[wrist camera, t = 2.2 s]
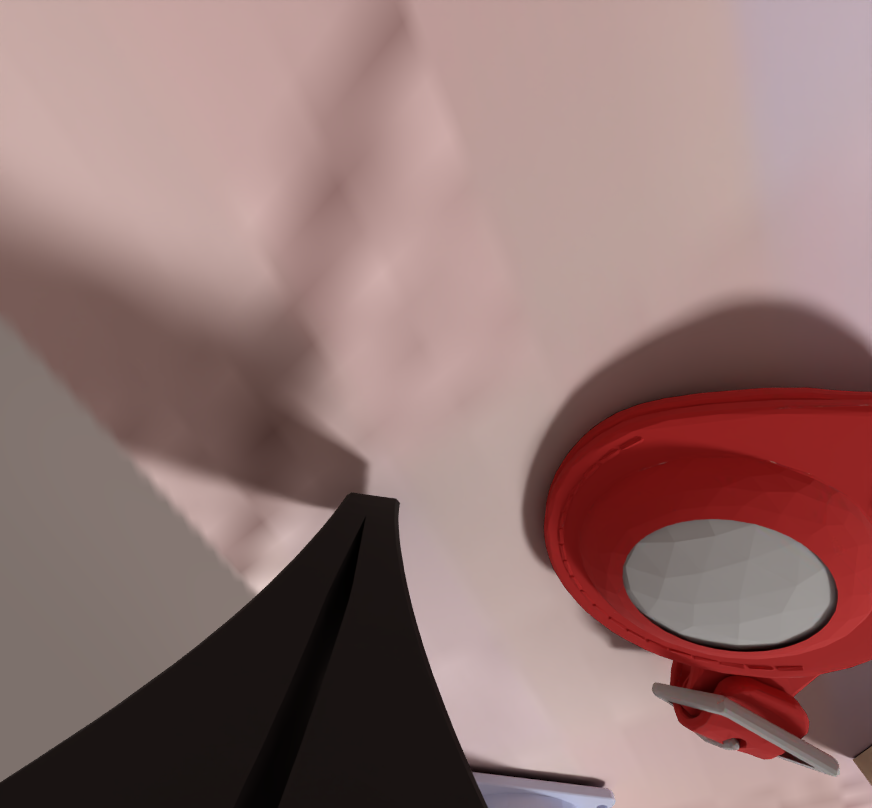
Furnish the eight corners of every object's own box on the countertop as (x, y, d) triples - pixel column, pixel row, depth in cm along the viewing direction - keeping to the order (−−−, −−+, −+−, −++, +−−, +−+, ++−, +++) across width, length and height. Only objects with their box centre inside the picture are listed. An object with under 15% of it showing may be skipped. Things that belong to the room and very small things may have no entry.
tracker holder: (463, 515, 10) (1061, 269, 5) (500, 437, 14) (852, 252, 8) (701, 817, 11) (1384, 900, 6) (675, 670, 15) (1078, 639, 10)
